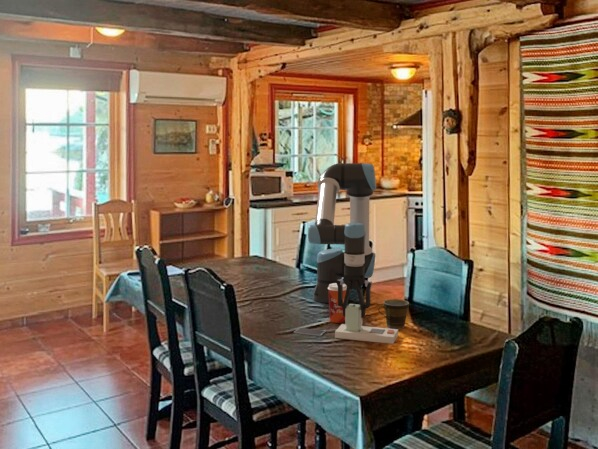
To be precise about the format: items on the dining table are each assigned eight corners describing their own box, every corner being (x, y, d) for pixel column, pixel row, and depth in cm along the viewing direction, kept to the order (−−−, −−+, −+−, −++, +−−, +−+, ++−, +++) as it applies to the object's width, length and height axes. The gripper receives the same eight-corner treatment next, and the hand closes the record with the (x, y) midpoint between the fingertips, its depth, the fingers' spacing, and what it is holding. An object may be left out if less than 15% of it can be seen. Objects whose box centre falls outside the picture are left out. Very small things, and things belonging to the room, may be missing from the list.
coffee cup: (330, 324, 253) (330, 287, 251) (325, 318, 261) (325, 283, 259) (350, 323, 255) (350, 286, 253) (344, 317, 263) (345, 282, 261)
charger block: (349, 329, 241) (349, 303, 240) (360, 330, 240) (361, 304, 238) (346, 332, 237) (346, 305, 236) (357, 333, 235) (358, 307, 234)
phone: (299, 330, 248) (299, 327, 248) (325, 333, 244) (325, 330, 243) (293, 334, 242) (293, 331, 242) (320, 337, 238) (320, 334, 238)
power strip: (341, 330, 245) (341, 322, 245) (398, 335, 238) (398, 327, 238) (334, 337, 236) (334, 329, 236) (393, 343, 229) (393, 335, 229)
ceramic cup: (400, 322, 256) (400, 298, 255) (413, 329, 247) (413, 304, 245) (371, 325, 251) (372, 301, 250) (384, 332, 242) (384, 307, 241)
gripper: (329, 264, 234) (328, 325, 237) (375, 267, 229) (374, 330, 232) (334, 261, 241) (334, 320, 244) (379, 264, 236) (378, 324, 239)
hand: (353, 325), depth 238 cm, fingers closed on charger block, 4 cm apart
